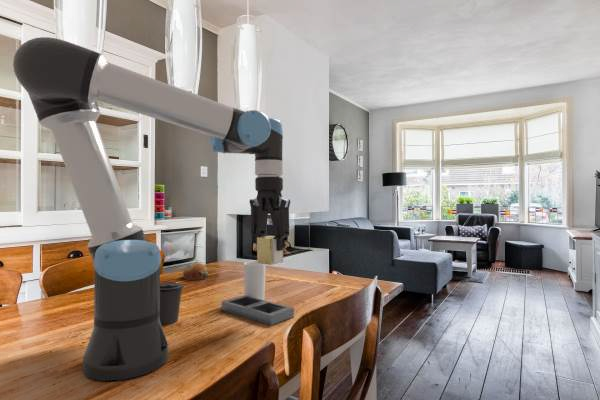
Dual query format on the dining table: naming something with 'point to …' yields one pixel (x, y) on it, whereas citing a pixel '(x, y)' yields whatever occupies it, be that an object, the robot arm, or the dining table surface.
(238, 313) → the grey flat frame
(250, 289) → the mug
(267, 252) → the pale yellow block
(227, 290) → the dining table surface
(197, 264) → the bread roll
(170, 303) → the coffee cup
